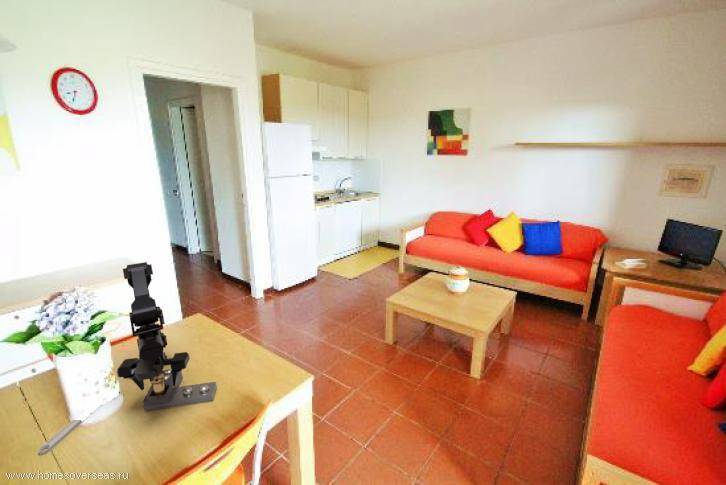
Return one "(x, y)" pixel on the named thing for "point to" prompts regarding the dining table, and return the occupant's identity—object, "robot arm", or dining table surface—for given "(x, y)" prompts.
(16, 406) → the dining table surface
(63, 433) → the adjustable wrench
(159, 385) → the pin
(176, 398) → the chain ends
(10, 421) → the dining table surface
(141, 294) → the robot arm
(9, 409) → the dining table surface
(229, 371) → the dining table surface
